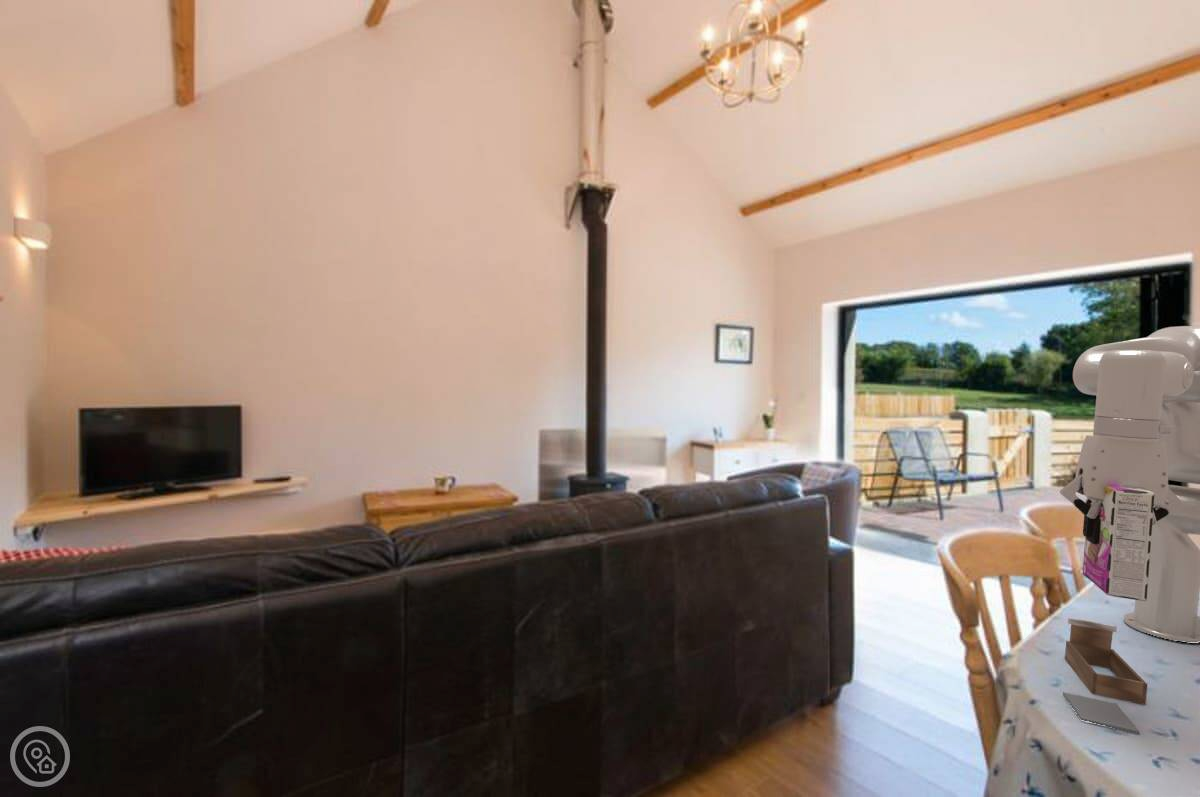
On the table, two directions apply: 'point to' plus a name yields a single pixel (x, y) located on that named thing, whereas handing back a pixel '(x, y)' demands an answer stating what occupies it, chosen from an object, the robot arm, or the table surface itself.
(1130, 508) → the candy bar box
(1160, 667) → the table surface
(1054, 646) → the table surface
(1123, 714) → the pad
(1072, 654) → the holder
